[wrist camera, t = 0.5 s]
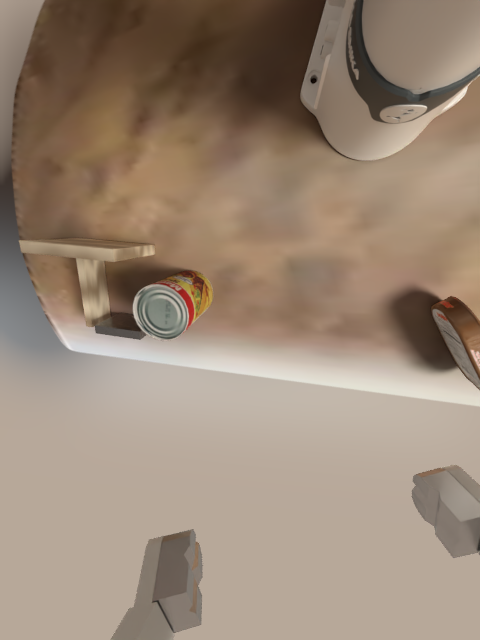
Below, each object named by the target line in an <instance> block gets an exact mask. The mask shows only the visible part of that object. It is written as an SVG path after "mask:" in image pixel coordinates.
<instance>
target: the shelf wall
mask: <svg viewBox="0 0 480 640" xmlns="http://www.w3.org/2000/svg"><path fill="white" fill-rule="evenodd" d="M19 243H20V248H21V252H22V253H31V254H41V255H51V256H60V257H70V258H76V262H77V268H78V275H79V281H80V287H81V294H82V300H83V307H84V313H85V320H86V326H88V327H94V326H95V325H97V324H99V323H101V322H103V321H105V320H107V319H109V318H111V313H110V305H109V296H108V287H107V279H106V270H105V261H109V262H117V261H122V260H128V259H133V258H138V257H144V256H149V255H155V245H152V244H141V243H130V242H119V241H108V240H97V239H85V238H69V239H43V240H19Z"/></svg>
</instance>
